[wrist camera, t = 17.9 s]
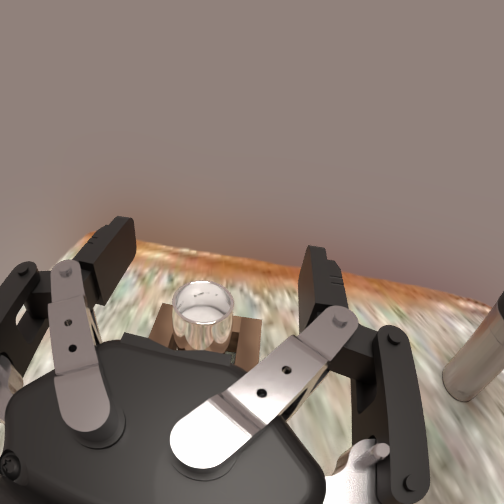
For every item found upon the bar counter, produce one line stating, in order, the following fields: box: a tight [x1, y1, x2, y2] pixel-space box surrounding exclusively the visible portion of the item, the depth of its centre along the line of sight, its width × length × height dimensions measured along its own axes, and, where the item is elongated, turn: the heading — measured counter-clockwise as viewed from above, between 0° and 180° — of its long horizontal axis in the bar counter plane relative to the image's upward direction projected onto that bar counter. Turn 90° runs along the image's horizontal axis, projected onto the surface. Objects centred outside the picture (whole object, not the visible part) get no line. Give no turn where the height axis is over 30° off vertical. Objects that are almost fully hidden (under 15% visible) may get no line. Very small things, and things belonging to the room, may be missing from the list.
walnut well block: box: [149, 303, 262, 372], centre depth 38 cm, size 15×15×5 cm
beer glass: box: [172, 280, 234, 354], centre depth 35 cm, size 7×7×15 cm
